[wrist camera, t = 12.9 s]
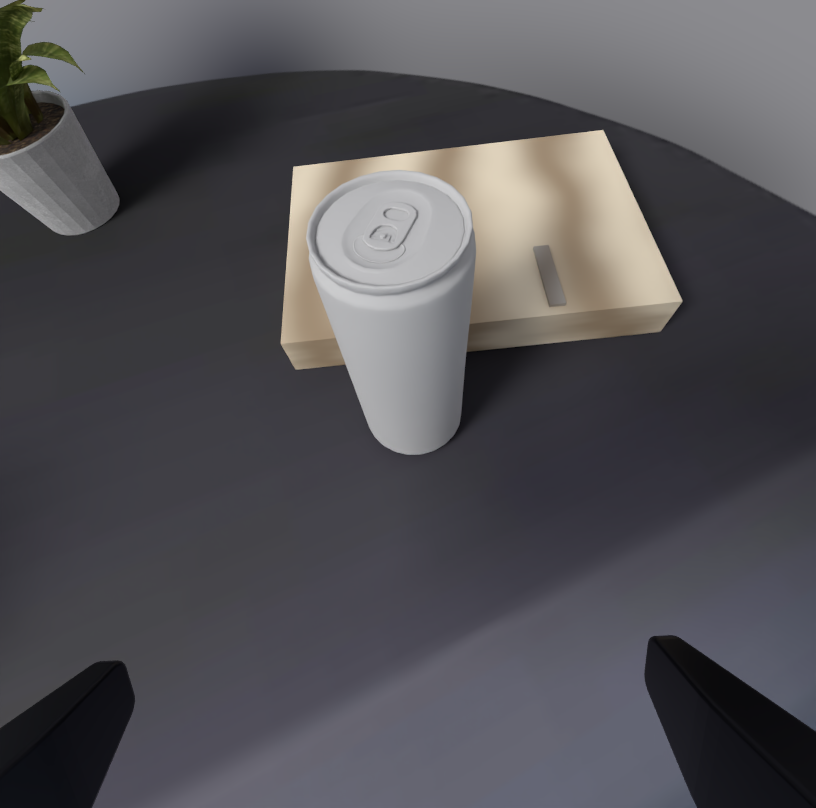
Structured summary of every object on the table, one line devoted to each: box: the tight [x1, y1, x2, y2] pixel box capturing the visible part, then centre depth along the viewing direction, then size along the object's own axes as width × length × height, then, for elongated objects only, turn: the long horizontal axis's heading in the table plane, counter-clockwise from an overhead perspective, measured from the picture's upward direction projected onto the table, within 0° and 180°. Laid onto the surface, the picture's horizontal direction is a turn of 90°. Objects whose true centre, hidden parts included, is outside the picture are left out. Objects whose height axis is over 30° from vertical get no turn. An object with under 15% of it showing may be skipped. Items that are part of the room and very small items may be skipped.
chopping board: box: [281, 130, 683, 370], centre depth 26 cm, size 20×14×3 cm
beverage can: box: [306, 170, 476, 455], centre depth 17 cm, size 5×5×12 cm
